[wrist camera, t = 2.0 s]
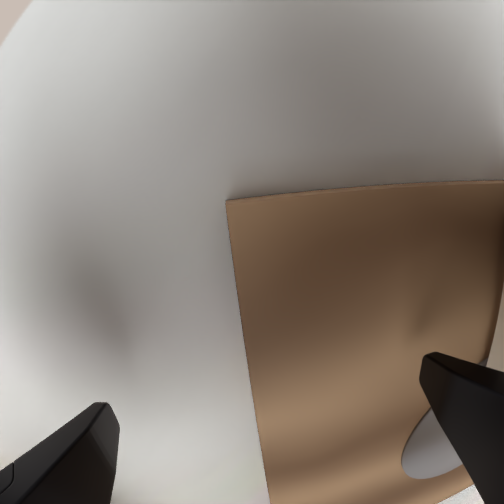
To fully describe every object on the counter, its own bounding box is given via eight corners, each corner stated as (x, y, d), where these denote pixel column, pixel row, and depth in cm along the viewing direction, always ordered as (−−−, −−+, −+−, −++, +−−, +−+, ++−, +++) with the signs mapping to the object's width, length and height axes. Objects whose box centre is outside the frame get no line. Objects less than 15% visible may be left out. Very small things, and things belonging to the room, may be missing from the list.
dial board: (528, 434, 15) (536, 443, 14) (276, 536, 14) (279, 553, 13) (591, 178, 10) (607, 180, 9) (224, 191, 9) (223, 194, 8)
